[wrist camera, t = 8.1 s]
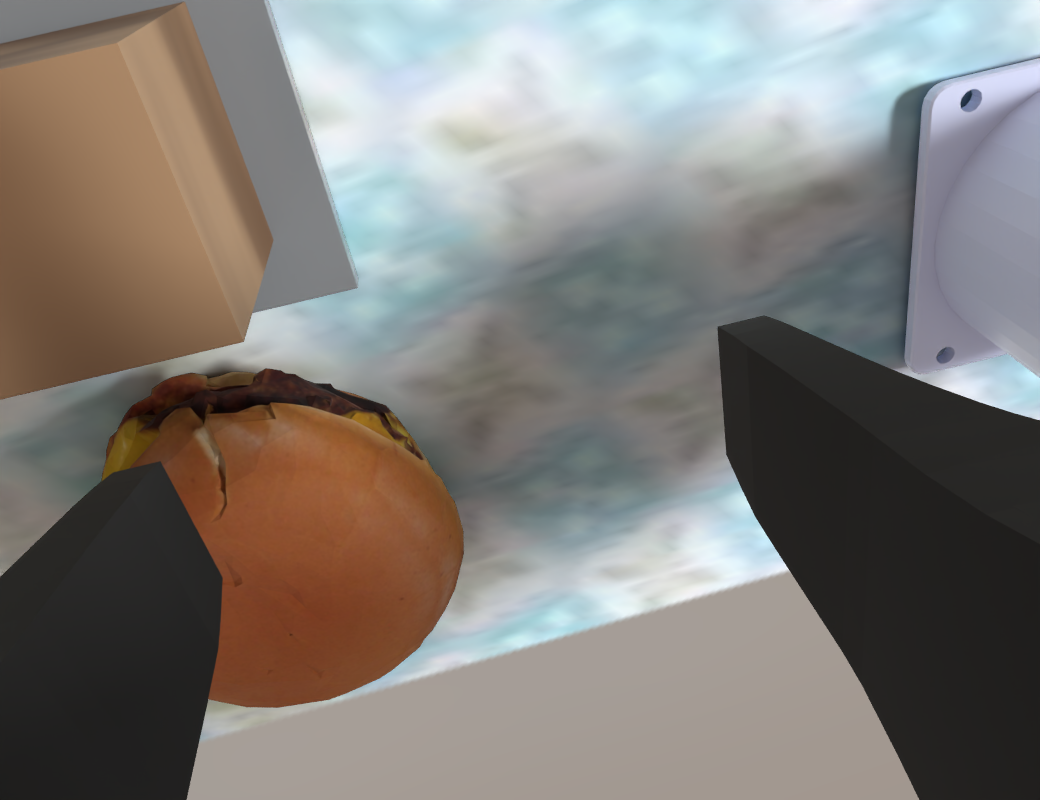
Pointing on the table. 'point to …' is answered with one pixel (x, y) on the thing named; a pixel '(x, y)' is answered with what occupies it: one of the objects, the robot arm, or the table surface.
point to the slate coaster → (244, 131)
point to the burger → (302, 527)
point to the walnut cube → (119, 203)
